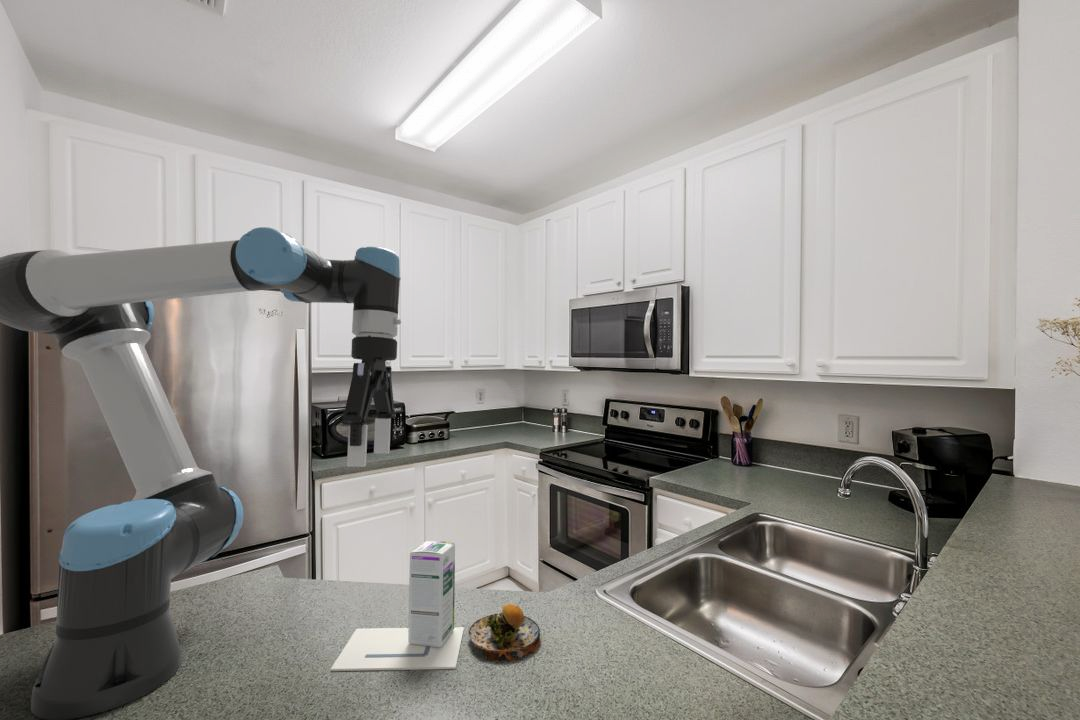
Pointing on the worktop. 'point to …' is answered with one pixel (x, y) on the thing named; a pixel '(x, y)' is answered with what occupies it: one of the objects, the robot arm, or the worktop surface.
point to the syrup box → (431, 593)
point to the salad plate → (506, 634)
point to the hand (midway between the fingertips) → (370, 459)
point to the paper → (396, 651)
